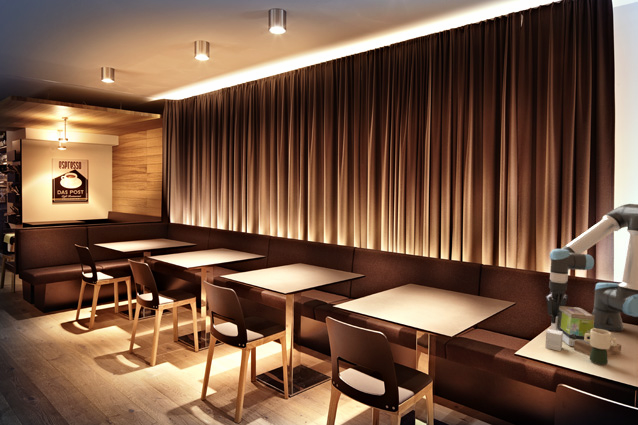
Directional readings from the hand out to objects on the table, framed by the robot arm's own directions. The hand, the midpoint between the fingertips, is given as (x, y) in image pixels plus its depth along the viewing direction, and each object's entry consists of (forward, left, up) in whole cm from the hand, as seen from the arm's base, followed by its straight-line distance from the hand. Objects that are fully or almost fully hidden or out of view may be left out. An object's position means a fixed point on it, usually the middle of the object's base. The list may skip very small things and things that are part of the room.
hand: (554, 329), depth 212 cm
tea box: (0, +10, -3) cm, 11 cm away
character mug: (+14, +31, -3) cm, 34 cm away
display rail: (+2, +23, -2) cm, 23 cm away
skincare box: (+17, +13, -3) cm, 22 cm away
